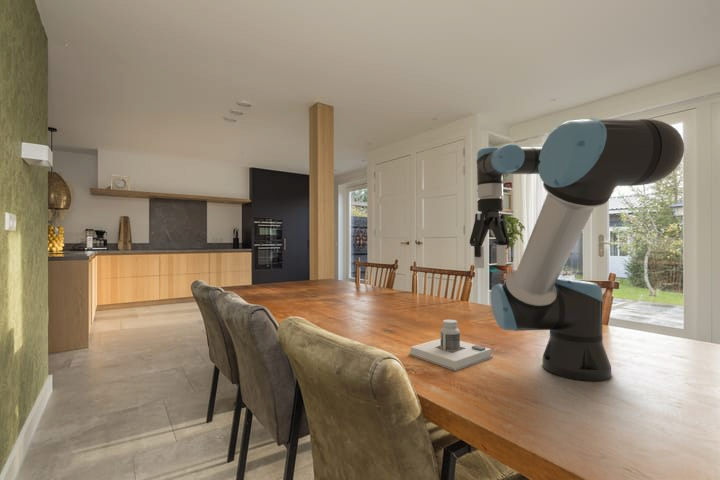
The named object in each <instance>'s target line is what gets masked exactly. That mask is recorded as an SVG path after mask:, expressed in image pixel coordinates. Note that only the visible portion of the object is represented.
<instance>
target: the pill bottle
mask: <svg viewBox="0 0 720 480" xmlns="http://www.w3.org/2000/svg"><path fill="white" fill-rule="evenodd" d="M442 326H443V327H441V329H440V339H441V350H444V351H448V352H451V353H453V352H456V351H460V341H461V339H460V338H461V336H460V335H461V334H460V333H461V331H460V329H459V328H457V327H458V320H455V319H444V320H442Z"/></svg>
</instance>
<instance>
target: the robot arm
mask: <svg viewBox="0 0 720 480" xmlns="http://www.w3.org/2000/svg"><path fill="white" fill-rule="evenodd" d="M684 152H685V143H684V139H683V137H682V135H681V133H680V132H679V131H678V130H677V129H676V128H675V127H674V126H672V125H670V124H669V123H666V122H664V121H662V120H658V119H657V120H656V119H652V118H651V119H650V118H639V119H638V118H637V119H635V118H634V119H633V118H632V119H627V118H626V119H621V118H620V119H615V118H614V119H613V118H612V119H610V118H609V119H605V118H604V119H603V118H602V119H599V118H598V119H597V118H593V117H589V118H583V119H575V120H574V119H573V120H567V121H565V122H563V123H561V124H559V125H558V126H556V127H555V128H554V129H553V130H551V132H550V133H549V134H548V136H547V137H546V139H545V141H544V143H543V144H542V146H538V147H537V146H535V147H531V146H526V147H525V146H524V147H523V146H519V145H517V144H515V143H508V144H504V145H502V146H499V147H498V146H488V147H484V148H481V149H479V150H478V151H477V152H476V153H477V154H476V169H477V170H476V179H477V180H476V181H477V182H476V183H477V190H476V192H477V198H478V200H477V211H478V212H480V213H475V215H474V223H473V226H472V230H471V234H470V239H469V244H470V247H474V249H473V250H474V252H473V254H474V256H473V257H474V260H473V261H474V269H485V246H483V244H484V241H485V239H486V237H487V235H488V232H489V231H490V230H491V232H492V233H493V236H494V237H495V238H494V239H495V240H496V242H497V245H496V266H503V267H504V266H507V261H506V260H507V258H506V257H507V253H506V250H507V248H506V247H507V246H509V245H510V237H509V233H508V230H507V229H508V228H507V225H506V221H505V214H499V212H502V211H503V210H504V200H503V197H504V181H503V179H504V178H503V177H504V176H505V175H539V177H540V180H541V181H542V182H543V183H542V185H543V186H542V187H543V188H544V190H545V191H546V193H547V195H546V196H545V199H544V202H543V204H542V207H541V210H540V212H539V214H538V217H537V220H536V221H535V224H534V227H533V229H532V232H531V234H530V237H529V240H528V242H527V244H526V247H525V249H524V252H523V254H522V256H521V258H520V262H519V263H518V266H517V268H516V270H512V271H511V272H510V273H508V275H507V277H506V278H505V281H504V283H497V284H493V286H492V287H491V290H490V304H491V309H492V314H493V318H494V320H495V322H496V324H497V326H498V327H499V328H500V329H502V330H504V331H513V332H519V331H522V332H525V331H549V338H548V342H547V343H546V347H545V348H544V352H543V354H542V359H541V360H542V367H543V368H544V369H545V370H546V371H548V372H550V373H551V374H553V375H554V374H555V375H556V376H559V377H563V378H567V379H572V380H579V381H584V382H585V381H586V382H587V381H589V382H599V381H606V380H609V379H611V378H612V365H611V362H610V360H609V357H608V354H607V351H606V349H605V345H604V343H603V342H604V341H603V340H604V339H603V333H604V331H603V330H604V329H603V328H604V327H603V324H604V323H603V304H604V299H603V289H602V287H601V286H600V285H599V284H598V283H596V282H592V281H584V280H578V279H573V278H572V279H571V278H563V277H560V275H561V273H562V271H563V269H564V267H565V265H566V263H567V261H568V259H569V258H570V256H571V254H572V252H573V249H574V247H575V246H576V244H577V242H578V240H579V238H580V236H581V234H582V232H583V230H584V229H585V227H586V224H587V223H588V220H589V218H590V217H591V214H592V212H593V211H594V208H597V207H601V206H603V205H606V204H607V203H608V202H609V199H610V198H611V196H612V194H613V192H614V191H615V189H616V188H617V187H618V186H619V187H623V186H624V187H631V186H632V187H633V186H645V185H649V184H653V183H656V182H658V181H660V180H663V179H665V178H666V177H668V176H669V175H671V174H672V173H674V171H675V170H676V169H677V167H678V166H679V165H680V163H681V162H682V160H683V157H684Z"/></svg>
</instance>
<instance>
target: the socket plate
mask: <svg viewBox="0 0 720 480" xmlns="http://www.w3.org/2000/svg"><path fill="white" fill-rule="evenodd" d="M408 355H409V356H411V357H414V358H416V359H420V360H422V361H425V362H428V363H431V364H434V365H437V366H439V367H442V368H445V369H449V370H451V371H454V372H456V371H460V370H463V369H465V368H468V367H470V366H474V365H476V364H478V363H481V362H484V361H487V360H489V359H492V358H493V355H492V348H489V347H485V346H481V345H479V344H473V343H470V342H466V341H462V340H460V351H456V352H453V353H451V352H448V351H444V350H441V338H437V339H433V340H430V341H427V342H424V343H423V342H422V343H419V344H416V345H413V346H412V345H411V346H410V353H409V354H408Z"/></svg>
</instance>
